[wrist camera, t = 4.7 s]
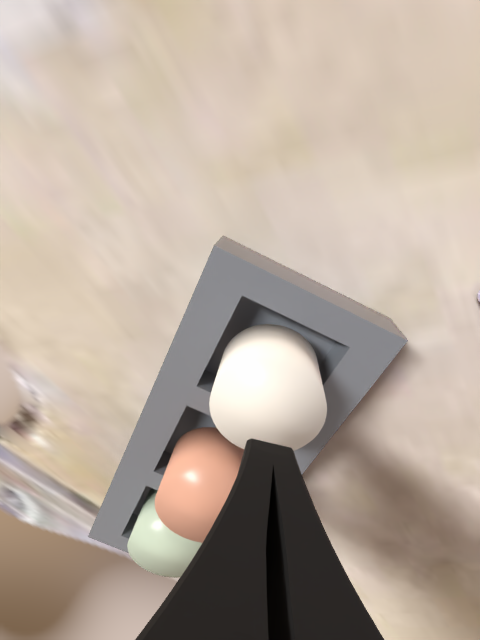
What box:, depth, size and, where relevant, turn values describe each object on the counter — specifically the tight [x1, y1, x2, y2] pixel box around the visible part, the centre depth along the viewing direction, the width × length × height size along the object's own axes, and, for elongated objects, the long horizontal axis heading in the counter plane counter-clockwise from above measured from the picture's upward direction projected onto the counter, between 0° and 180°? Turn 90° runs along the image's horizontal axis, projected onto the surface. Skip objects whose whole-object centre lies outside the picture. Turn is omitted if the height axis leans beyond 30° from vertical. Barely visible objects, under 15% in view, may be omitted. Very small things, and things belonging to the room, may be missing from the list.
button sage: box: [127, 488, 202, 577], centre depth 20 cm, size 4×4×3 cm
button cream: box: [209, 324, 327, 451], centre depth 14 cm, size 4×4×3 cm
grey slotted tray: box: [88, 236, 408, 553], centre depth 19 cm, size 9×21×2 cm, turn 155°
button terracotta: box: [155, 427, 244, 543], centre depth 16 cm, size 4×4×3 cm
